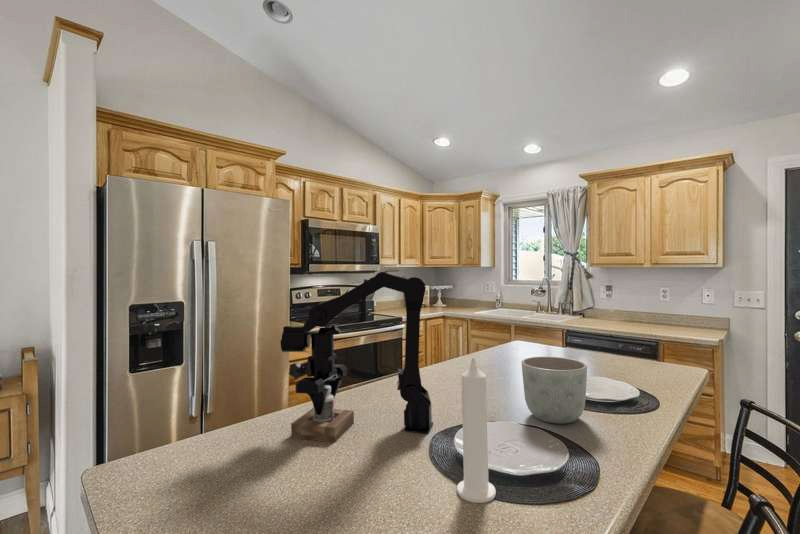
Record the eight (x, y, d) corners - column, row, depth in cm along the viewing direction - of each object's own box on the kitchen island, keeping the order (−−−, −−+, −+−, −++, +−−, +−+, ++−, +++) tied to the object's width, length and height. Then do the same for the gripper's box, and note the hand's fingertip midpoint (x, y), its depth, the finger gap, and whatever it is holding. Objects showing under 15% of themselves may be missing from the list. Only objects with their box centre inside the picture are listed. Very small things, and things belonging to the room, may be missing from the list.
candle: (453, 483, 77) (450, 354, 77) (488, 481, 77) (486, 353, 77) (462, 504, 70) (459, 362, 70) (501, 502, 70) (498, 361, 70)
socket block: (353, 423, 108) (353, 410, 108) (335, 442, 96) (334, 427, 96) (314, 419, 111) (313, 407, 111) (291, 437, 99) (291, 423, 99)
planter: (511, 419, 109) (510, 364, 109) (537, 403, 121) (536, 353, 121) (575, 436, 97) (574, 374, 97) (597, 416, 109) (595, 361, 110)
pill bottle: (337, 425, 103) (336, 387, 103) (318, 430, 100) (317, 391, 100) (329, 418, 107) (328, 382, 107) (310, 423, 104) (309, 386, 104)
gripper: (312, 343, 115) (313, 397, 115) (275, 357, 97) (276, 421, 97) (347, 344, 112) (348, 400, 112) (316, 359, 94) (317, 425, 94)
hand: (323, 410), depth 104 cm, fingers closed on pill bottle, 5 cm apart
